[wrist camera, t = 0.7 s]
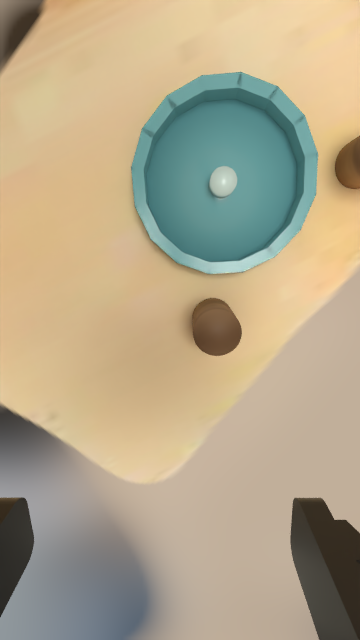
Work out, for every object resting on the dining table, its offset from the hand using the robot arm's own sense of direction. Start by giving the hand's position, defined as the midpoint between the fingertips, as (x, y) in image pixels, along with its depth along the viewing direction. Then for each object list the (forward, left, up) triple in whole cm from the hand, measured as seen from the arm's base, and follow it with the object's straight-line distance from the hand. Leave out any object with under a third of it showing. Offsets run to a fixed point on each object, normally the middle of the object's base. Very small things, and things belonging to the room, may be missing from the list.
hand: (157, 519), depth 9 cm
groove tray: (-13, +4, -19) cm, 23 cm away
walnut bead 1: (-1, +3, -19) cm, 19 cm away
